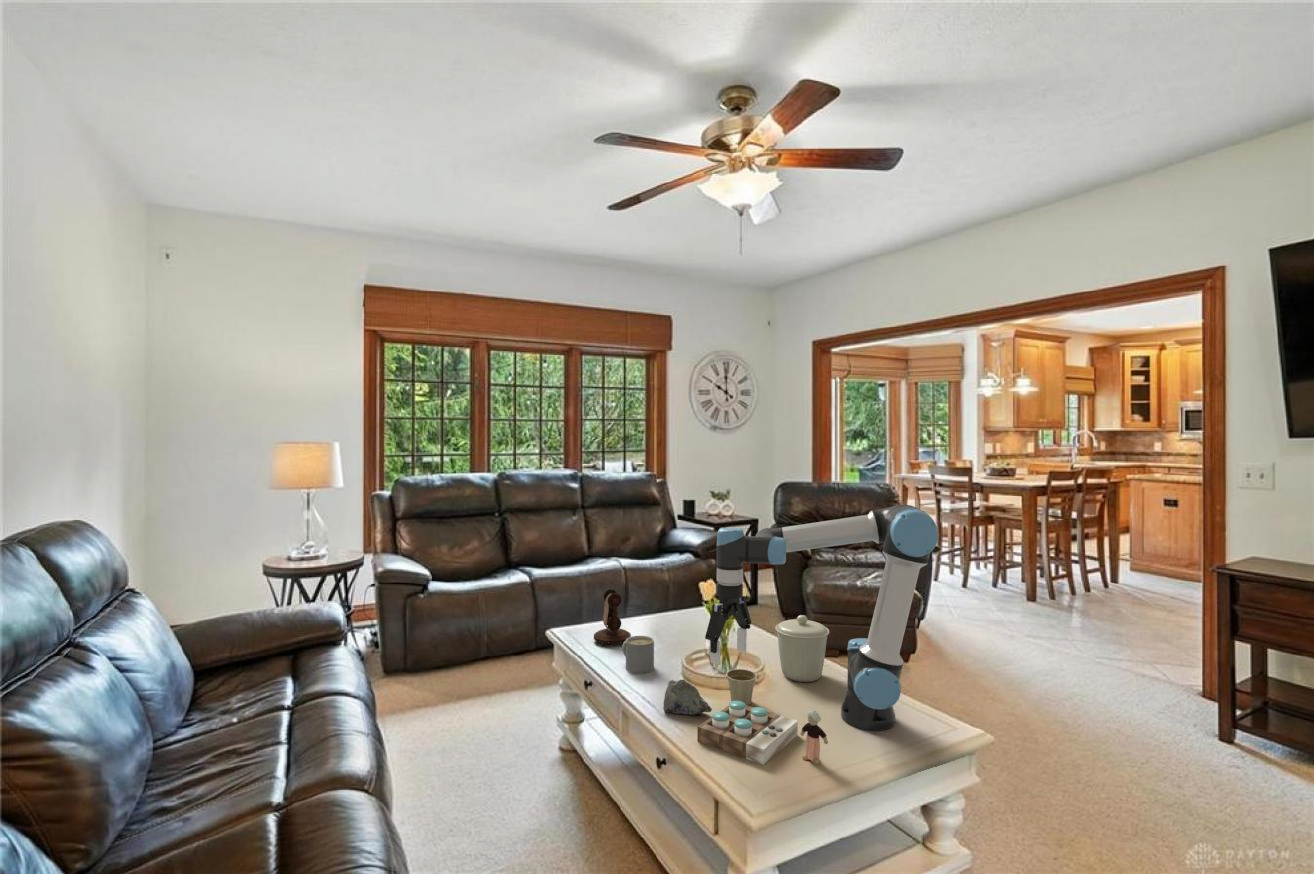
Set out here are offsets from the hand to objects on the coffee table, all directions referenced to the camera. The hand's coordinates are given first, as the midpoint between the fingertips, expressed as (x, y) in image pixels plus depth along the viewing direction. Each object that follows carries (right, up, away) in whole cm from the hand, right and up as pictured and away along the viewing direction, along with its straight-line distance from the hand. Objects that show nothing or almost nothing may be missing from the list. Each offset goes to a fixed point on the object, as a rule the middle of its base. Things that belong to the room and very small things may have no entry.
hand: (728, 657), depth 181 cm
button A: (+8, -18, -4) cm, 20 cm away
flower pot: (+6, -20, +16) cm, 26 cm away
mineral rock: (-12, -20, +8) cm, 25 cm away
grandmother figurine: (+20, -20, -18) cm, 34 cm away
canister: (+29, -20, +37) cm, 51 cm away
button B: (+3, -18, -11) cm, 21 cm away
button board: (+5, -20, -7) cm, 21 cm away
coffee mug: (-27, -19, +45) cm, 57 cm away
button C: (+2, -18, +1) cm, 18 cm away
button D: (-3, -18, -7) cm, 19 cm away
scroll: (-38, -19, +72) cm, 84 cm away
